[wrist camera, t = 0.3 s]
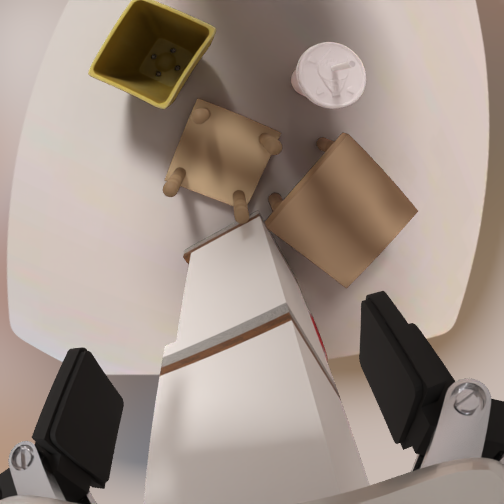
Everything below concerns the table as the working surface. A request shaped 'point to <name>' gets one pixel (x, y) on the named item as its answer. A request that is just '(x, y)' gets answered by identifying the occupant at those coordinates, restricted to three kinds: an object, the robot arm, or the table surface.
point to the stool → (341, 211)
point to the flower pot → (152, 51)
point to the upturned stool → (221, 156)
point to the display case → (247, 386)
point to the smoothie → (329, 75)
